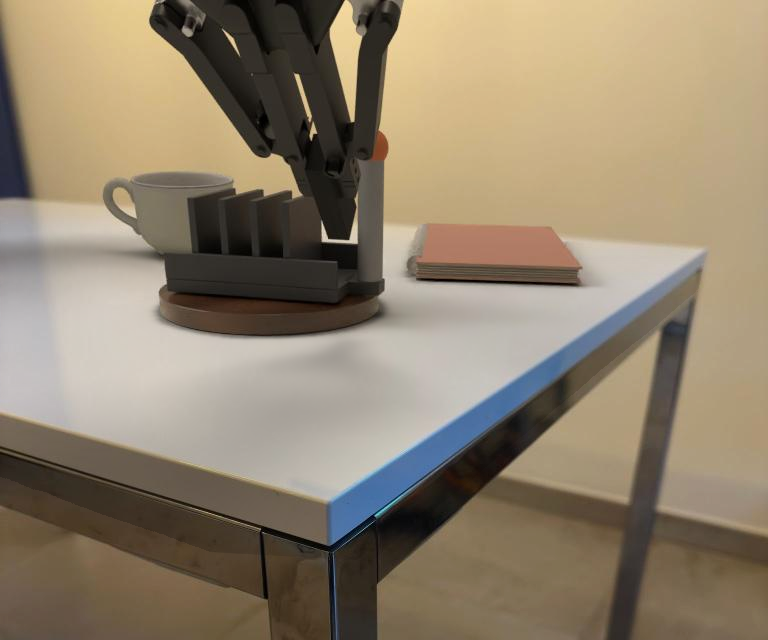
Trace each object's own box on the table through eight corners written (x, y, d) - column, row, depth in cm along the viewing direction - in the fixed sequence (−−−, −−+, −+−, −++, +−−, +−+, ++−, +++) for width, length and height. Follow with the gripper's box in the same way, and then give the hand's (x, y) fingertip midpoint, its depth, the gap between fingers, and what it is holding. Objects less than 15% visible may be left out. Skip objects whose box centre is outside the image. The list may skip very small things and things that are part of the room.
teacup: (251, 247, 91) (247, 172, 87) (218, 264, 81) (211, 181, 77) (139, 242, 93) (130, 169, 89) (93, 258, 83) (81, 176, 79)
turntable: (112, 311, 63) (110, 292, 62) (261, 276, 76) (260, 260, 76) (285, 348, 54) (284, 327, 54) (418, 301, 68) (419, 284, 67)
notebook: (416, 236, 100) (416, 220, 99) (549, 241, 99) (551, 224, 98) (404, 279, 76) (405, 258, 75) (579, 285, 75) (582, 264, 74)
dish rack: (167, 291, 62) (148, 124, 56) (214, 270, 70) (202, 122, 64) (372, 306, 59) (373, 130, 53) (397, 282, 66) (401, 127, 61)
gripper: (46, -96, 31) (240, 264, 53) (363, -108, 28) (428, 276, 50) (98, -224, 33) (264, 174, 55) (398, -246, 30) (445, 180, 53)
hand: (342, 222), depth 53 cm, fingers closed
